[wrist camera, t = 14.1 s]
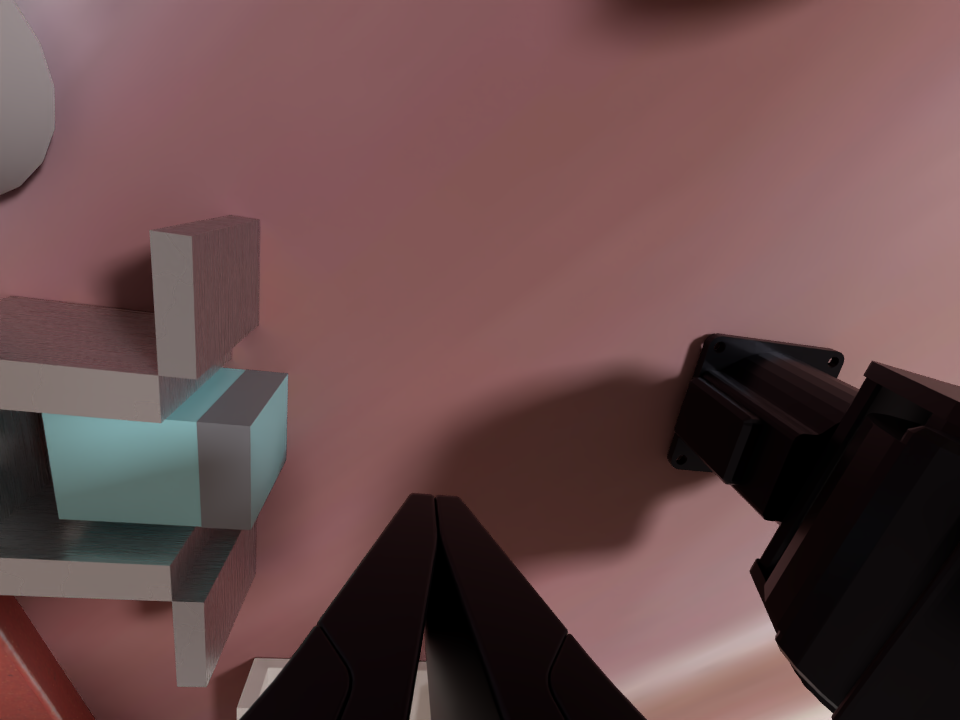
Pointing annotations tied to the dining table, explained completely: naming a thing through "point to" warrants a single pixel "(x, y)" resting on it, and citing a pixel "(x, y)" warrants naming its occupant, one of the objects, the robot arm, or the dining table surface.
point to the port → (135, 397)
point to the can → (22, 99)
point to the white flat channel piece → (270, 667)
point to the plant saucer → (32, 673)
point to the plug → (176, 457)
